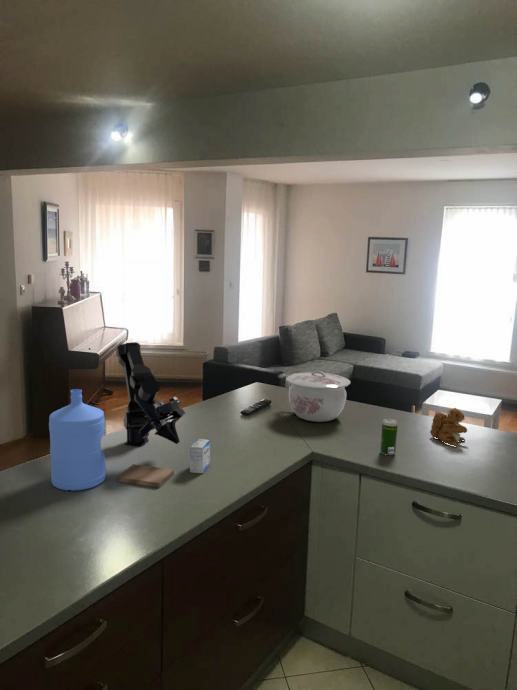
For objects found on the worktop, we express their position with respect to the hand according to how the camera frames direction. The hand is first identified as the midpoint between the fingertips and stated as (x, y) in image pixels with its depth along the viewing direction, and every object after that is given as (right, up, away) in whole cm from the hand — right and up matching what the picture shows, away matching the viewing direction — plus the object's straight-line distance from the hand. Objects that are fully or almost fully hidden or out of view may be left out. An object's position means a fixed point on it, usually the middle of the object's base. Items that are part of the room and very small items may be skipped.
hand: (178, 442), depth 171 cm
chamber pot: (+51, +1, +55) cm, 75 cm away
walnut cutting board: (-8, -9, -10) cm, 16 cm away
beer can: (+72, -7, +16) cm, 74 cm away
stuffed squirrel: (+98, -5, +31) cm, 103 cm away
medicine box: (+7, -8, -2) cm, 11 cm away
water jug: (-28, -9, -13) cm, 32 cm away
